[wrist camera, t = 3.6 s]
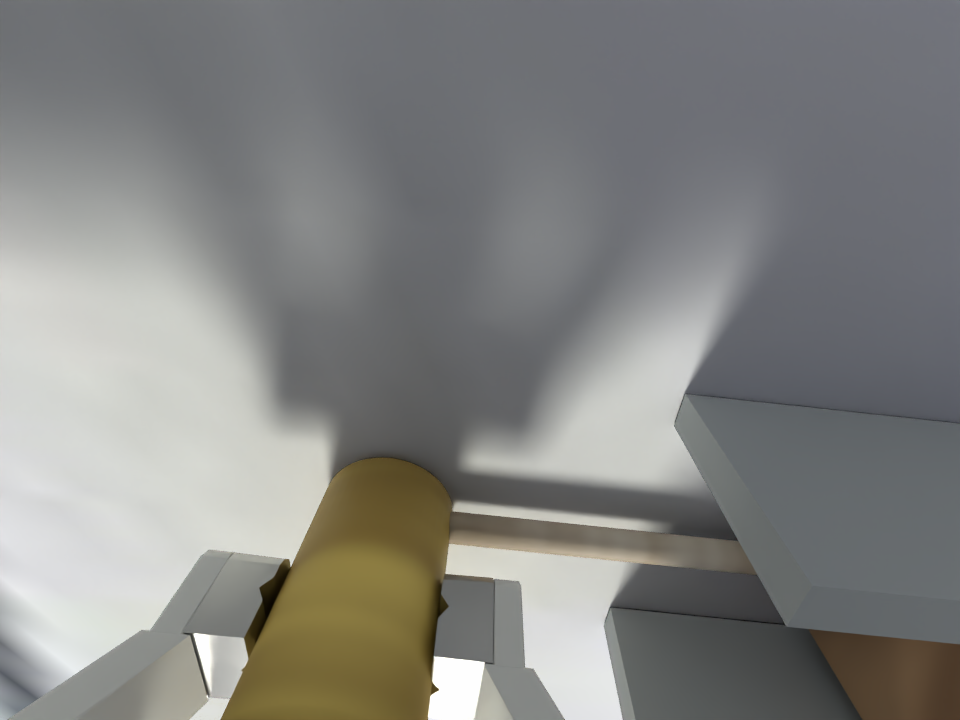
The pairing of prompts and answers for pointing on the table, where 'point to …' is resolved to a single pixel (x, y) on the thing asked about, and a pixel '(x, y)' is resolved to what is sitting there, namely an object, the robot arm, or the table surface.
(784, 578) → the lane
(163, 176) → the table surface
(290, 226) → the table surface
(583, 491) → the table surface
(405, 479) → the towed block
